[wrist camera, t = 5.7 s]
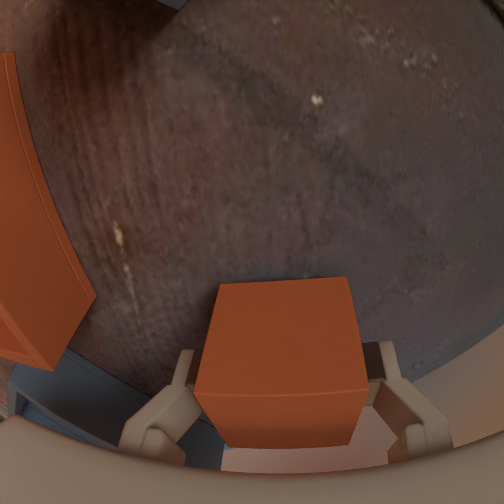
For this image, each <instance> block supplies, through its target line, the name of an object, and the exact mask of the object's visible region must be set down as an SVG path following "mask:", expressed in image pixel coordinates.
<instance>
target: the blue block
mask: <svg viewBox="0 0 504 504" xmlns="http://www.w3.org/2000/svg"><path fill="white" fill-rule="evenodd" d="M156 1H159V2H161V3H163V4H165V5H167V6H170V7H172V8H174V9H176V10H180V9H181V8H182V6H183V5H184V4H185V2H186V1H187V0H156Z"/></svg>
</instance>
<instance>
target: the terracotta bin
mask: <svg viewBox="0 0 504 504" xmlns="http://www.w3.org/2000/svg"><path fill="white" fill-rule="evenodd" d="M96 297H97V294H96V292H95V290H94V289H93V287H92V285H91V283H90V281H89V279H88V277H87V275H86V273H85V271H84V269H83V267H82V265H81V263H80V261H79V259H78V257H77V255H76V253H75V251H74V249H73V246H72V244H71V242H70V240H69V238H68V235H67V233H66V231H65V229H64V226H63V224H62V222H61V219H60V217H59V214H58V212H57V209H56V207H55V204H54V202H53V199H52V197H51V194H50V191H49V189H48V186H47V183H46V180H45V177H44V175H43V172H42V169H41V166H40V163H39V159H38V156H37V153H36V150H35V146H34V143H33V140H32V136H31V133H30V129H29V125H28V121H27V117H26V113H25V109H24V105H23V100H22V96H21V91H20V86H19V80H18V75H17V69H16V63H15V56H14V52H7V53H3V54H0V357H2V358H5V359H8V360H12V361H15V362H18V363H21V364H25V365H28V366H32V367H35V368H39V369H43V370H47V371H51V372H53V371H54V370H55V368H56V366H57V364H58V362H59V360H60V358H61V357H62V355H63V353H64V351H65V349H66V347H67V345H68V344H69V342H70V340H71V338H72V337H73V335H74V333H75V331H76V329H77V328H78V326H79V324H80V323H81V321H82V319H83V317H84V316H85V314H86V312H87V311H88V309H89V307H90V306H91V304H92V303H93V302H94V300H95V298H96Z"/></svg>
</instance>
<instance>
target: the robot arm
mask: <svg viewBox="0 0 504 504" xmlns="http://www.w3.org/2000/svg"><path fill="white" fill-rule="evenodd" d="M361 344H362V350H363V355H364V361H365V366H366V372H367V379H368V385H369V390H368V393H367V396H366V399H365V402H364V405H363V406H372V405H373V408H374V409H375V410H376V411H377V412H378V414H379V415H380V416H381V417H382V419H383V420H384V421H385V422H386V424H387V425H388V426H389V427H390V429H391V430H392V431H393V432H394V433H395V435H396V436H397V437H398V439H397V440H396V442H395V443H394V444H393V445H392V447H391V448H390V449H389V450H388V462H389V464H386V465H380V466H374V467H368V468H361V469H352V470H343V471H334V472H320V473H298V474H297V473H296V474H264V473H243V472H229V471H219V470H209V469H201V468H194V467H187V466H184V463H185V458H186V453H185V452H184V451H183V450H182V449H181V448H180V447H179V446H178V445H177V444H176V443H177V441H178V440H179V439H180V438H181V437H182V436H183V435H184V433H185V432H186V431H187V430H188V429H189V428H190V426H191V425H192V424H193V423H194V422H195V421H196V419H197V418H198V417H199V416H200V415H201V414H202V412H203V408H202V407H201V405H200V404H199V402H198V401H197V399H196V397H195V396H194V394H193V392H194V387H195V383H196V379H197V375H198V371H199V366H200V362H201V358H202V354H203V350H196V349H183V350H182V351H181V353H180V356H179V359H178V362H177V365H176V369H175V372H174V375H173V379H172V382H171V385H166V386H165V387H164V388H163V389H162V390H161V391H160V392H159V393H158V394H157V395H155V396H154V397H153V398H152V399H151V400H150V401H149V402H148V403H146V404H145V405H144V406H143V407H142V408H141V409H140V410H139V411H137V412H136V413H135V414H134V415H133V416H132V417H131V418H129V419H128V420H127V421H126V423H125V426H124V429H123V432H122V435H121V438H120V441H119V444H118V447H117V450H116V451H114V450H110V449H107V448H103V447H100V446H97V445H94V444H91V443H88V442H85V441H82V440H79V439H76V438H73V437H71V436H68V435H65V434H63V433H60V432H58V431H55V430H53V429H50V428H48V427H45V426H43V425H41V424H39V423H36V422H34V421H32V420H30V419H28V418H26V417H24V416H21V415H18V414H14V415H12V416H10V417H8V418H7V419H5V420H4V421H2V422H1V423H0V504H504V430H502V431H500V432H497V433H495V434H493V435H490V436H487V437H485V438H482V439H479V440H477V441H474V442H471V443H468V444H465V445H462V446H459V447H456V448H454V447H453V443H452V438H451V433H450V429H449V424H448V420H447V416H446V415H445V414H444V413H443V412H442V411H441V410H440V409H439V408H438V407H437V406H436V405H434V404H433V403H432V402H431V401H430V400H429V399H428V398H427V397H426V396H425V395H424V394H423V393H422V392H421V391H420V390H418V389H417V388H416V387H415V386H414V385H413V384H412V383H411V382H410V381H409V380H408V379H407V378H406V377H404V378H401V373H400V369H399V365H398V361H397V357H396V354H395V350H394V346H393V342H392V341H391V340H386V341H379V342H376V341H375V342H367V343H361Z"/></svg>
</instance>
